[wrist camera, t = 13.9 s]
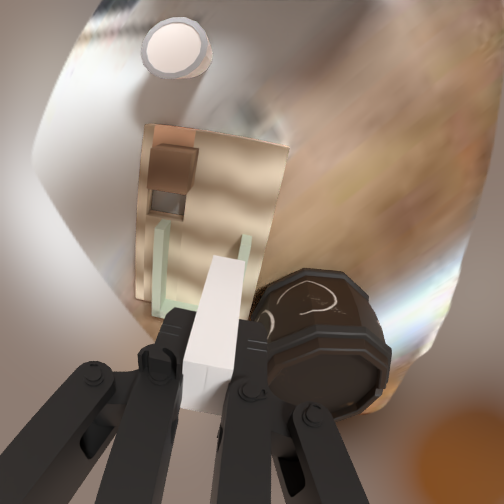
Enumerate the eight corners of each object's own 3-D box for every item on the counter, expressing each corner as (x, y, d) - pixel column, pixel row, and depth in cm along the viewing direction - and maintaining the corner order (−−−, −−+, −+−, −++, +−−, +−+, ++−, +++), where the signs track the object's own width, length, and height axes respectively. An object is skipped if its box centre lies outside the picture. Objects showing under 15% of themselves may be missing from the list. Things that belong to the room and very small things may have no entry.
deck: (150, 123, 34) (144, 124, 32) (288, 146, 35) (289, 148, 33) (140, 290, 45) (135, 298, 44) (248, 312, 46) (247, 321, 45)
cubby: (162, 218, 38) (154, 228, 35) (251, 235, 38) (251, 246, 36) (157, 303, 44) (151, 315, 41) (233, 318, 44) (232, 332, 42)
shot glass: (219, 80, 31) (209, 74, 25) (163, 86, 32) (141, 84, 26) (217, 27, 28) (206, 11, 22) (160, 35, 29) (139, 23, 22)
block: (162, 143, 33) (150, 148, 30) (199, 148, 33) (191, 154, 30) (158, 179, 35) (146, 188, 32) (193, 185, 35) (185, 195, 32)
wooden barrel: (225, 315, 47) (211, 398, 33) (310, 236, 40) (333, 311, 26) (304, 367, 52) (312, 442, 38) (385, 307, 45) (419, 381, 31)
